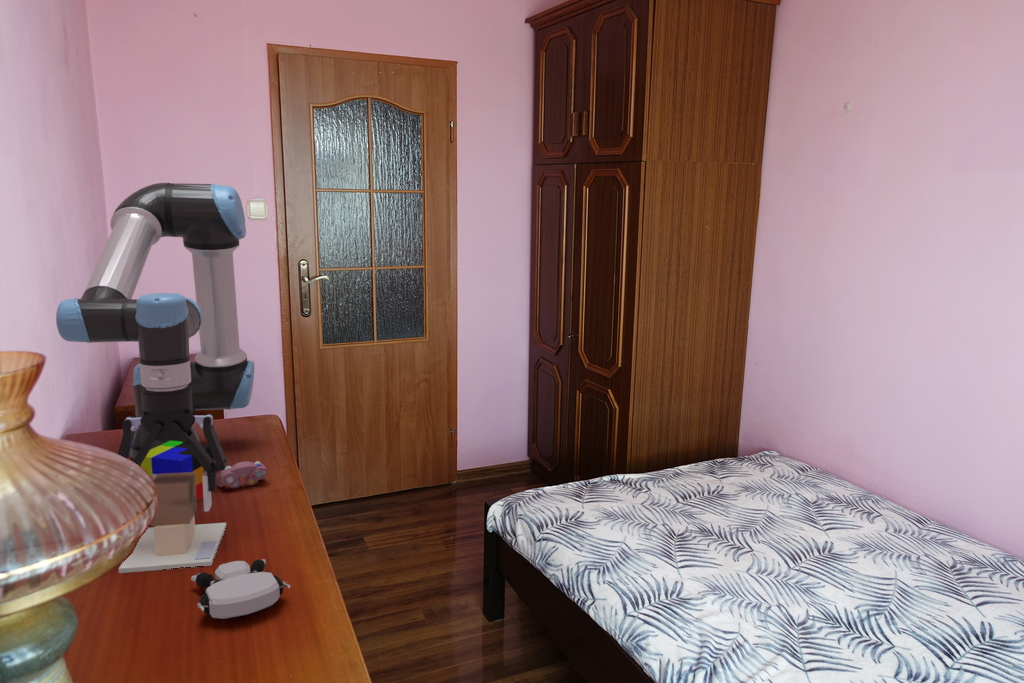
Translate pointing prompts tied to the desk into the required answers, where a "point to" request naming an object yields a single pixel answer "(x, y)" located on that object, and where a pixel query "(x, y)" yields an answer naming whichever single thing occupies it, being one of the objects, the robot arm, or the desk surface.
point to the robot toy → (238, 589)
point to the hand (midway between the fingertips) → (174, 510)
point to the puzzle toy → (175, 462)
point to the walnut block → (175, 498)
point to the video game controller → (242, 474)
